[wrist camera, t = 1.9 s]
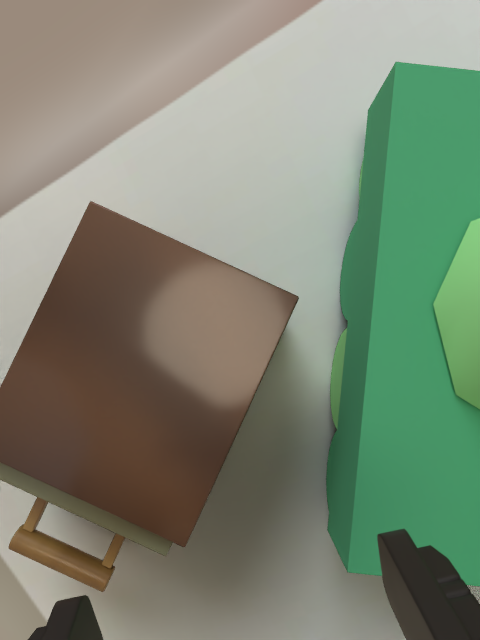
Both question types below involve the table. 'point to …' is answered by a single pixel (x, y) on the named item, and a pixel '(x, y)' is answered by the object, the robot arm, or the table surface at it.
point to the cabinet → (138, 373)
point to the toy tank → (411, 329)
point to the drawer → (63, 554)
